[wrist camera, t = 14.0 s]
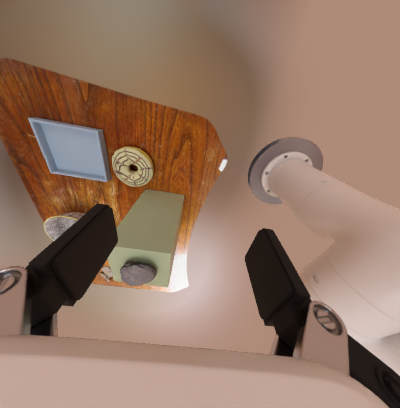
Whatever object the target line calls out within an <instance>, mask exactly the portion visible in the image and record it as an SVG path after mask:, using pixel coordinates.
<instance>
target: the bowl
mask: <svg viewBox="0 0 400 408" xmlns="http://www.w3.org/2000/svg"><path fill="white" fill-rule="evenodd" d="M84 214H86V213H79V212H70V213H65V214H61V215H58V216H53V217H50V218H48V219H47V220H46V221H45V222H44V230H45V232H46V233H47V235H48V236H49V237H50V238H51V239H52V240H53V241H55V240H56V239H57V238H58V237H59V236H60V235H61V234H63V233H64V232H65V231H66V230H67V229H68V228H70V227H71V226H72V225H73V224H74V223H75V222H76V221H78V220H79V219H80V218H81V217H82V216H83V215H84Z"/></svg>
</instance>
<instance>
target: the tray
mask: <svg viewBox="0 0 400 408" xmlns="http://www.w3.org/2000/svg"><path fill="white" fill-rule="evenodd" d="M28 120H29V122H30V124H31V127H32V129H33V132H34V134H35V136H36V139H37V141H38V144H39V146H40V148H41V151H42V153H43V156H44V158H45V161H46V163H47V165H48V168H49V170H50V173H54V174H60V175H67V176H73V177H79V178H85V179H91V180H98V181H104V182H108V181H110V180H111V173H110V167H109V162H108V156H107V150H106V145H105V139H104V133H103V130H101V129H95V128H90V127H85V126H79V125H74V124H68V123H63V122H58V121H52V120H47V119H41V118H28Z"/></svg>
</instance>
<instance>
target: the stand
mask: <svg viewBox="0 0 400 408" xmlns="http://www.w3.org/2000/svg"><path fill="white" fill-rule="evenodd" d="M184 197H185V195H181V194H175V193H169V192H163V191H157V190H150V189H145V190H144V192H143V193H142V195H141V196H140V197H139V199H138V200H137V201H136V203H135V204H134V205H133V207H132V208H131V209H130V211H129V212H128V213H127V215H126V216H125V217H124V219H123V220H122V221H121V223H120V224H119V226H118V227H117V228H116V230H117V235H118V243H117V245H116V246H115V248H114V249H113V251H112V252H111V254H110V255H109V257H108V261H109V265H110V268H111V272H112V275H113V279H114V281H118V282H123V281H122V279H121V274H120V269H121V267H122V266H123V265H124V264H125V263H126V262H128V261H131V260H132V261H136V262H141V263H147V264H150V265H152V266H154V267H155V269H156V270H157V274H156V276H155V278H154V279H153V280H152V281H150V282H148V283H146V284H145V285H154V286H162V287H168V285H169V280H170V275H171V270H172V265H173V260H174V255H175V250H176V246H177V241H178V236H179V231H180V226H181V220H182V212H183V204H184Z"/></svg>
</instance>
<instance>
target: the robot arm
mask: <svg viewBox="0 0 400 408" xmlns="http://www.w3.org/2000/svg"><path fill="white" fill-rule="evenodd" d="M261 185H262V187H263V189H264V190H265V192H266V193H267V194H269V195H271V196H274V197H278V198H279V199H280V200H281V201H282V202H283V204H284V205H285V206H286V207H287V208H288V210H289V211H290V212H291V213H292V214H293V216H294V217H295V218H296V219H297V220H298V221H299V222H300V224H301V225H302V226H303V227H304V228H305V229H306V230H307V231H309V232H310V233H312V234H314V235H317V236H319V237H323V238H328V239H334V240H335V242H334V243H333V244H332V245H331V246H330V247H329V248H328V249H327V250H326V251H325V252H323V253H322V254H321V255H320V256H318V257H317V258H316V259H315V260H313V261H312V262H311V263H310V264H308V265H307V266H306V267H305V268H304V269H303V270H301V271H300V272H299V274H298V273H297V271H296V270H295V268H294V266H293V264H292V262H291V261H290V259H289V257H288V255H287V254H286V252H285V250H284V248H283V247H282V245H281V243H280V241H279V240H278V238H277V236H276V235H275V233H274V231H273V230H270V229H262V230H260V231H259V232H258V233H257V235H256V237H255V239H254V241H253V243H252V244H251V246H250V248H249V250H248V252H247V254H246V256H245V262H246V266H247V269H248V273H249V277H250V281H251V284H252V288H253V292H254V295H255V299H256V303H257V307H258V311H259V314H260V317H261V318H262V319H263V320H264V324H265V325H266V326H274V327H275V330H276V335H275V339H274V342H273V345H272V348H271V351H270V355H268V354H259V353H248V352H237V351H226V350H215V349H204V348H192V347H180V346H169V345H156V344H145V343H132V342H120V341H108V340H96V339H83V338H71V337H58V328H57V312H58V310H59V309H60V307H61V306H62V305H65V306H73V305H74V304H75V303H76V301H77V300H80V299H81V298H82V297H83V295H84V294H85V292H86V291H87V289H88V288H89V286H90V284H91V283H92V281H93V280H94V278H95V277H96V275H97V274H98V272H99V271H100V269H101V268H102V266H103V265H104V263H105V261H106V260H107V258H108V257H109V255H110V254H111V252H112V251H113V249H114V248H115V246H116V245H117V243H118V235H117V230H116V225H115V220H114V215H113V210H112V208H110V206H109V205H104V204H96V205H95V206H94V207H92V208H91V209H90V210H89V211H88V212H87V213H86V214H84V215H83V216H82V217H81V218H80V219H79V220H78V221H76V222H75V223H74V224H73V225H72V226H71V227H70V228H68V229H67V230H66V231H65V232H64V233H63V234H61V235H60V236H59V237H58V238H57V239H56V240H55V241H53V242H52V243H51V244H50V245H49V246H48V247H47V248H45V249H44V250H43V251H42V252H41V253H40V254H39V255H37V256H36V257H35V258H34V259H33V260H32V261H31V262H29V265H28V266H27V267H26V268H24V267H20V266H11V267H7V268H3V269H0V408H400V209H397V208H395V207H393V206H390V205H388V204H385V203H383V202H381V201H378V200H376V199H374V198H372V197H370V196H367V195H365V194H364V193H362V192H360V191H358V190H356V189H354V188H352V187H350V186H348V185H346V184H344V183H342V182H341V181H339V180H337V179H335V178H333V177H331V176H329V175H327V174H325V173H323V172H322V171H320V170H318V169H316V168H314V167H313V165H312V162H311V160H310V158H309V157H308V156H307V155H305V154H303V153H301V152H296V151H290V152H285V153H282V154H280V155H278V156H276V157H275V158H273V159H272V160H271V161H270V162H269V163H268V164H267V165H266V167H265V168H264V170H263V172H262V175H261Z"/></svg>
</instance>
